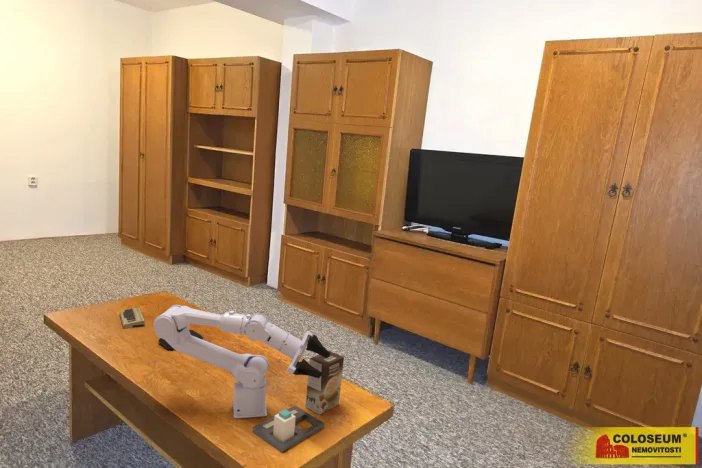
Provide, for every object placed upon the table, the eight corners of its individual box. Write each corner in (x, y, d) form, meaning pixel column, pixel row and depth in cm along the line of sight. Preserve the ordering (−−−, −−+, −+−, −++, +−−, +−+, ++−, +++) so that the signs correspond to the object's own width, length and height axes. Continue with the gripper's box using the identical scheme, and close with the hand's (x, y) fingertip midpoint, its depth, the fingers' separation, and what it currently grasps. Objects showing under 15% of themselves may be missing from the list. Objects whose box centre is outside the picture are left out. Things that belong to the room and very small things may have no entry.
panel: (282, 452, 121) (282, 446, 120) (252, 431, 128) (253, 426, 128) (323, 427, 133) (324, 422, 133) (294, 409, 140) (295, 404, 140)
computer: (119, 315, 197) (119, 308, 196) (140, 313, 201) (140, 306, 200) (123, 330, 184) (123, 322, 183) (145, 327, 188) (145, 320, 187)
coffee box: (319, 415, 139) (324, 366, 136) (304, 406, 143) (308, 358, 140) (339, 404, 146) (344, 357, 143) (324, 396, 150) (329, 349, 147)
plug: (282, 445, 123) (284, 418, 122) (272, 438, 126) (274, 412, 124) (293, 439, 127) (295, 412, 125) (283, 432, 129) (285, 406, 127)
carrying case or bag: (170, 354, 168) (206, 343, 179) (170, 346, 167) (207, 336, 178) (156, 343, 175) (192, 334, 186) (156, 336, 174) (192, 327, 185)
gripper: (278, 353, 125) (322, 378, 126) (298, 317, 137) (338, 340, 137) (270, 367, 129) (312, 390, 130) (290, 330, 141) (328, 352, 142)
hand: (325, 365), depth 134 cm, fingers open, 7 cm apart
